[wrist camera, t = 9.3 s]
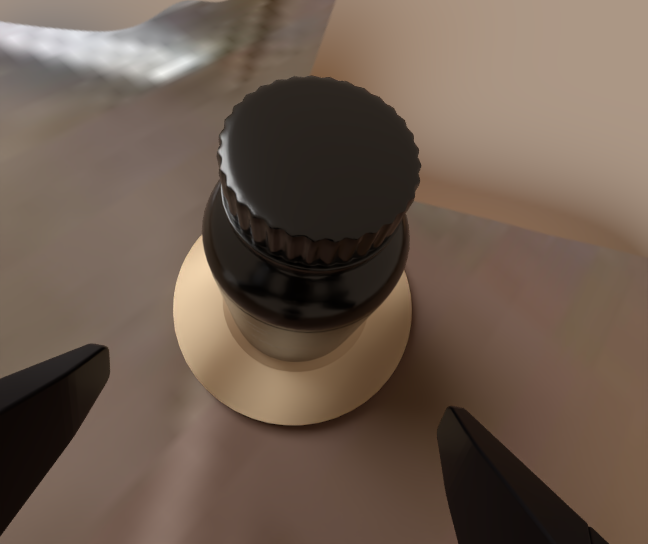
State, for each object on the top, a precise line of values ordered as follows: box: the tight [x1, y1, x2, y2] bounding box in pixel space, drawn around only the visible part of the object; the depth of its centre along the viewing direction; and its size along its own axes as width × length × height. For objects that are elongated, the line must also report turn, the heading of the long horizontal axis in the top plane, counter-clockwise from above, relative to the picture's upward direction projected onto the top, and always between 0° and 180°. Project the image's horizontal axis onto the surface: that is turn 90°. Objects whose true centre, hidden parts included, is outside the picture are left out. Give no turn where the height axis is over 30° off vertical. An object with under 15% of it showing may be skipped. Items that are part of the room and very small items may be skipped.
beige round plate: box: [173, 235, 412, 425], centre depth 20 cm, size 13×13×1 cm
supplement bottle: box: [202, 76, 421, 362], centre depth 14 cm, size 7×7×12 cm
